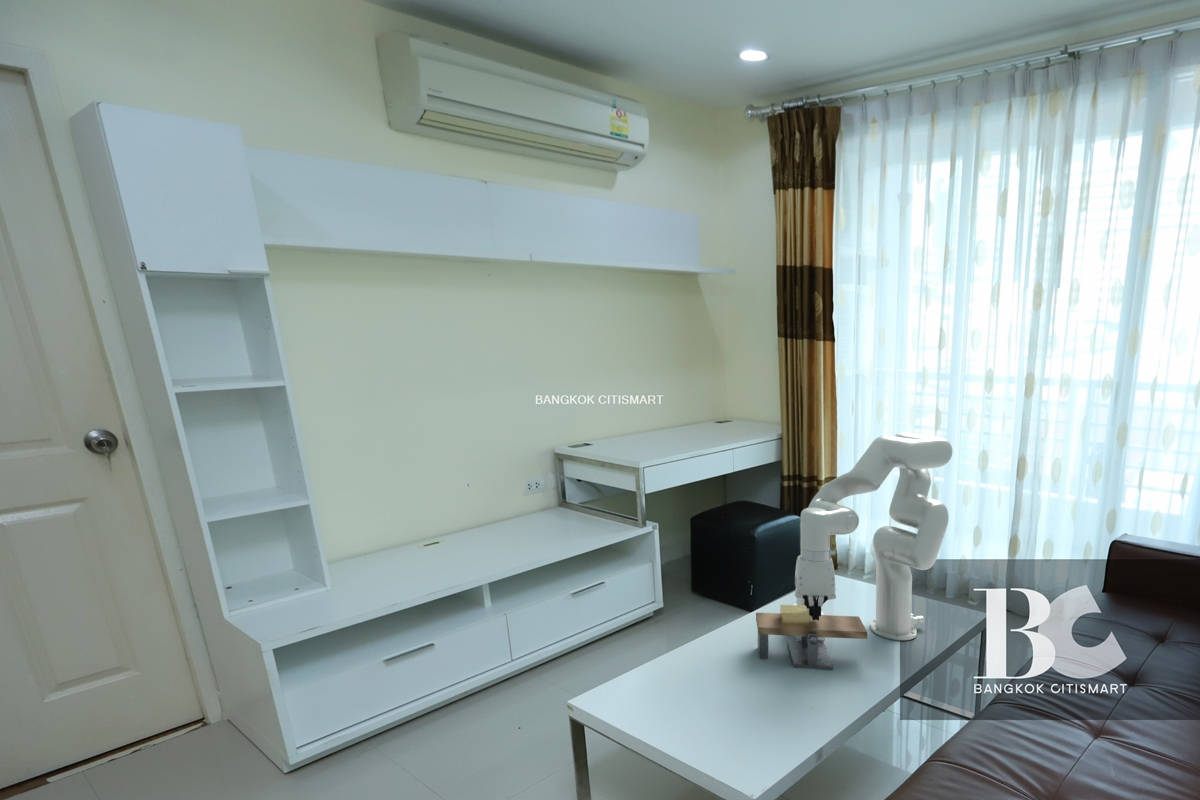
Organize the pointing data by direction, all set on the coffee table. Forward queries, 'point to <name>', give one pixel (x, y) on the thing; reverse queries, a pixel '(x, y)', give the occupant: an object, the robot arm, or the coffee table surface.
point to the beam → (813, 626)
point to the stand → (801, 652)
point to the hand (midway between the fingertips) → (815, 618)
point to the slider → (794, 615)
